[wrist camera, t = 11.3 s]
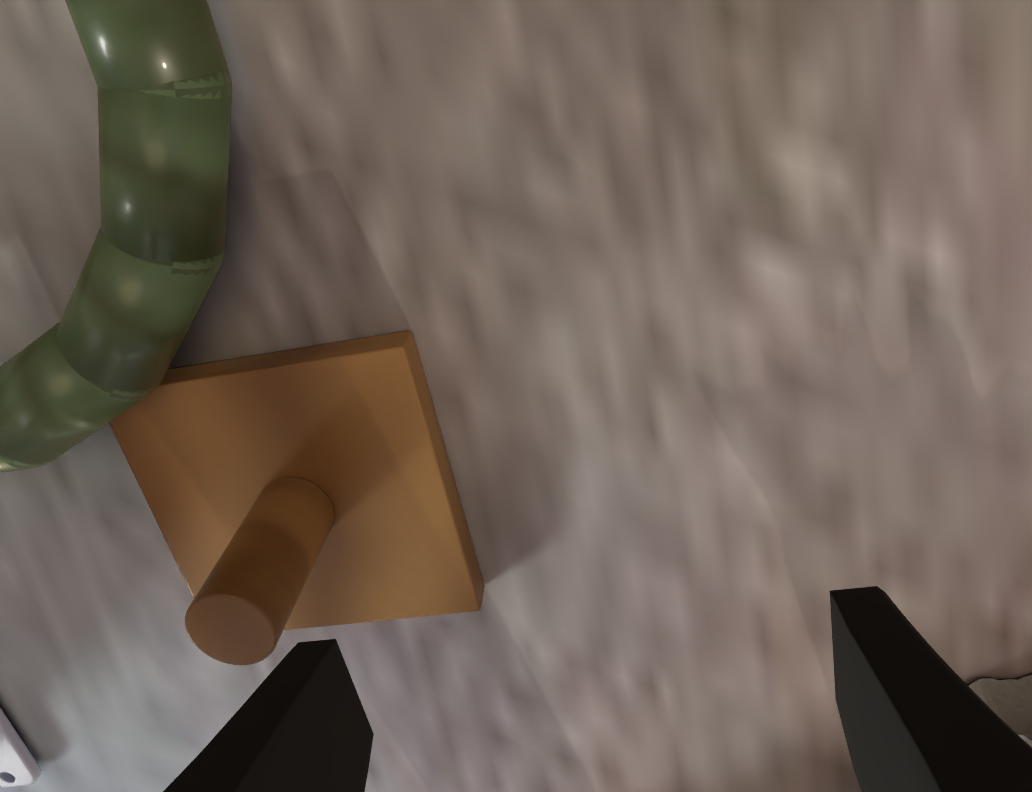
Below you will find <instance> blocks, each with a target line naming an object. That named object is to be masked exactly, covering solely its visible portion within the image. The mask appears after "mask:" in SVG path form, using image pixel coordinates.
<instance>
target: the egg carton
mask: <svg viewBox="0 0 1032 792" xmlns="http://www.w3.org/2000/svg"><path fill="white" fill-rule="evenodd" d="M969 687H970V688H971V689H972V690H973V691H974V692H975V693H976V694H977V695H978V696H979V697H980V698H981V699H982V700H983V701H984V702H985V703H986V704H987V705H988V706H989V707H990V709H991V710H992V711H993V712H994V713H996V714H997V715H998V716H999V717H1000V718H1001V719H1002V720H1003V721H1004V722H1005V723H1006V724H1007V725H1008V726H1009V727H1010V728H1011V729H1012V730H1013V731H1014V732H1015V733H1016V734H1018V735H1019V736H1020V737H1021V738H1022V739H1023V740H1024V741H1025V742H1026V743H1027V744H1028V745H1030V746H1031V747H1032V675H1029V676H1025V677H1023V678H1020V679H1018V680H1016V679H1007V680H996V679H993V678H983V679H979V680H977V681H975V682H973V683H972V684H970V685H969Z"/></svg>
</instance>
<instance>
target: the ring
mask: <svg viewBox="0 0 1032 792" xmlns="http://www.w3.org/2000/svg"><path fill="white" fill-rule="evenodd" d="M65 1H66V3H67V6H68V9H69V11H70V14H71V17H72V19H73V22H74V25H75V27H76V30H77V33H78V35H79V38H80V41H81V43H82V46H83V49H84V51H85V54H86V57H87V59H88V62H89V65H90V67H91V70H92V72H93V75H94V78H95V80H96V83H97V86H98V118H99V160H100V202H101V228H100V230H99V232H98V235H97V237H96V239H95V242H94V244H93V246H92V249H91V251H90V253H89V256H88V258H87V260H86V263H85V265H84V267H83V270H82V272H81V274H80V277H79V279H78V281H77V284H76V286H75V288H74V291H73V293H72V295H71V298H70V300H69V302H68V305H67V307H66V309H65V312H64V314H63V316H62V319H61V321H60V322H59V323H58V324H56V325H55V326H54V327H52V328H51V329H50V330H49V331H47V332H46V333H45V334H43V335H42V336H41V337H39V338H38V339H37V340H35V341H34V342H33V343H31V344H30V345H29V346H27V347H26V348H25V349H23V350H22V351H21V352H19V353H18V354H17V355H15V356H14V357H13V358H11V359H10V360H9V361H8V362H6V363H5V364H4V365H2V366H1V367H0V472H6V471H14V470H22V469H29V468H33V467H38V466H41V465H44V464H46V463H48V462H50V461H52V460H54V459H55V458H57V457H58V456H60V455H61V454H63V453H64V452H66V451H67V450H69V449H70V448H72V447H73V446H75V445H76V444H78V443H79V442H81V441H82V440H83V439H85V438H86V437H88V436H89V435H91V434H92V433H94V432H95V431H97V430H98V429H100V428H101V427H103V426H104V425H106V424H107V423H109V422H110V421H112V420H113V419H114V418H116V417H117V416H119V415H120V414H122V413H123V412H125V411H126V410H128V409H129V408H131V407H132V406H134V405H135V404H137V403H138V402H140V401H141V400H143V399H144V398H145V397H147V396H148V395H149V394H151V393H152V392H153V391H154V390H155V389H156V388H157V387H158V385H159V384H160V382H161V381H162V379H163V378H164V376H165V374H166V372H167V370H168V368H169V366H170V364H171V362H172V360H173V358H174V356H175V355H176V353H177V351H178V349H179V347H180V345H181V343H182V341H183V339H184V337H185V335H186V333H187V331H188V329H189V327H190V325H191V323H192V322H193V320H194V318H195V316H196V314H197V312H198V310H199V308H200V306H201V304H202V302H203V300H204V298H205V296H206V294H207V292H208V290H209V288H210V287H211V285H212V283H213V281H214V279H215V277H216V275H217V273H218V271H219V269H220V266H221V263H222V261H223V258H224V253H225V243H226V220H227V197H228V173H229V150H230V127H231V104H232V83H231V78H230V74H229V70H228V67H227V63H226V60H225V57H224V54H223V51H222V47H221V44H220V41H219V38H218V35H217V32H216V28H215V25H214V22H213V19H212V16H211V13H210V9H209V6H208V3H207V0H65Z"/></svg>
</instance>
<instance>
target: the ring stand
mask: <svg viewBox="0 0 1032 792" xmlns="http://www.w3.org/2000/svg"><path fill="white" fill-rule="evenodd" d="M109 424H110V426H111V428H112V430H113V432H114V434H115V436H116V438H117V440H118V442H119V444H120V447H121V449H122V451H123V453H124V455H125V457H126V459H127V461H128V463H129V465H130V467H131V469H132V471H133V473H134V476H135V478H136V480H137V482H138V484H139V486H140V488H141V490H142V492H143V494H144V496H145V498H146V500H147V502H148V505H149V507H150V509H151V511H152V513H153V515H154V517H155V519H156V521H157V523H158V525H159V527H160V529H161V531H162V533H163V536H164V538H165V540H166V542H167V544H168V546H169V548H170V550H171V552H172V554H173V556H174V558H175V560H176V562H177V565H178V567H179V569H180V571H181V573H182V575H183V577H184V579H185V581H186V583H187V585H188V587H189V589H190V591H191V594H192V596H193V598H194V600H193V601H192V603H191V605H190V606H189V608H188V610H187V612H186V616H185V626H186V630H187V633H188V635H189V637H190V639H191V640H192V642H193V643H194V644H195V645H196V646H197V647H198V648H199V649H200V650H201V651H202V652H204V653H205V654H206V655H208V656H210V657H212V658H213V659H216V660H218V661H221V662H224V663H227V664H233V665H250V664H254V663H257V662H260V661H262V660H264V659H265V658H267V657H268V656H269V655H270V654H271V653H272V652H273V650H274V649H275V647H276V645H277V642H278V640H279V638H280V636H281V634H282V632H283V630H291V629H301V628H311V627H321V626H331V625H341V624H351V623H360V622H370V621H380V620H390V619H400V618H410V617H420V616H430V615H440V614H450V613H460V612H470V611H479V610H480V609H481V604H482V598H483V593H484V587H485V586H484V583H483V579H482V576H481V572H480V569H479V565H478V562H477V558H476V555H475V551H474V548H473V544H472V541H471V537H470V534H469V530H468V527H467V523H466V520H465V516H464V513H463V509H462V506H461V502H460V499H459V495H458V492H457V488H456V485H455V481H454V478H453V474H452V471H451V467H450V464H449V460H448V457H447V453H446V449H445V446H444V442H443V439H442V435H441V432H440V428H439V425H438V421H437V418H436V414H435V411H434V407H433V404H432V400H431V397H430V393H429V390H428V386H427V383H426V379H425V376H424V372H423V369H422V365H421V362H420V358H419V355H418V351H417V348H416V344H415V341H414V337H413V334H412V331H403V332H397V333H391V334H385V335H378V336H372V337H366V338H360V339H354V340H348V341H341V342H335V343H329V344H323V345H317V346H311V347H304V348H298V349H292V350H286V351H280V352H273V353H267V354H261V355H255V356H249V357H243V358H236V359H230V360H224V361H218V362H212V363H205V364H199V365H193V366H187V367H181V368H175V369H168V370H167V372H166V374H165V376H164V378H163V379H162V381H161V382H160V384H159V385H158V387H157V388H156V389H155V390H154V391H153V392H152V393H151V394H149V395H148V396H147V397H145V398H144V399H143V400H141V401H140V402H138V403H137V404H135V405H134V406H132V407H131V408H129V409H128V410H126V411H125V412H123V413H122V414H120V415H119V416H117V417H116V418H114V419H113V420H112V421H110V422H109Z"/></svg>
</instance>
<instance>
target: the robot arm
mask: <svg viewBox="0 0 1032 792" xmlns="http://www.w3.org/2000/svg"><path fill="white" fill-rule="evenodd" d="M830 602H831V621H832V639H833V657H834V676H835V694H836V702H837V706H838V710H839V714H840V717H841V721H842V725H843V729H844V733H845V737H846V741H847V745H848V749H849V752H850V756H851V760H852V764H853V767H854V771H855V774H856V777H857V779H858V782H859V785H860V787H861V790H862V792H1032V747H1031V746H1030V745H1028V744H1027V743H1026V742H1025V741H1024V740H1023V739H1022V738H1021V737H1020V736H1019V735H1018V734H1016V733H1015V732H1014V731H1013V730H1012V729H1011V728H1010V727H1009V726H1008V725H1007V724H1006V723H1005V722H1004V721H1003V720H1002V719H1001V718H1000V717H999V716H998V715H997V714H996V713H994V712H993V711H992V710H991V709H990V707H989V706H988V705H987V704H986V703H985V702H984V701H983V700H982V699H981V698H980V697H979V696H978V695H977V694H976V693H975V692H974V691H973V690H972V689H971V688H970V687H969V686H968V685H967V684H966V683H965V682H964V681H963V680H962V679H961V678H960V677H959V676H958V675H957V674H956V673H955V672H954V671H953V670H952V669H951V668H950V667H949V666H948V665H947V664H946V662H945V661H944V660H943V659H942V658H941V657H940V656H939V655H938V654H937V653H936V652H935V650H934V649H933V648H932V647H931V646H930V645H929V644H928V643H927V642H926V640H925V639H924V638H923V637H922V636H921V635H920V634H919V633H918V631H917V630H916V629H915V628H914V627H913V626H912V624H911V623H910V622H909V621H908V620H907V619H906V617H905V616H904V615H903V614H902V613H901V611H900V610H899V609H898V608H897V606H896V605H895V604H894V603H893V602H892V600H891V599H890V598H889V596H888V595H887V594H886V593H885V592H884V591H883V590H881V589H880V588H879V587H877V586H874V587H864V588H854V589H843V590H833V591H830ZM372 740H373V732H372V729H371V727H370V724H369V722H368V719H367V717H366V714H365V711H364V709H363V706H362V704H361V701H360V699H359V696H358V694H357V691H356V689H355V686H354V684H353V681H352V679H351V676H350V674H349V671H348V669H347V666H346V664H345V661H344V659H343V656H342V654H341V651H340V649H339V646H338V644H337V641H336V639H330V640H319V641H309V642H299V643H297V645H296V646H295V647H294V648H293V649H292V650H291V651H290V652H289V653H288V654H287V655H286V656H285V658H284V659H283V660H282V661H281V662H280V663H279V664H278V665H277V667H276V668H275V669H274V670H273V671H272V672H271V673H270V675H269V676H268V677H267V678H266V679H265V680H264V681H263V683H262V684H261V685H260V686H259V687H258V688H257V689H256V691H255V692H254V693H253V694H252V695H251V696H250V698H249V699H248V700H247V701H246V702H245V703H244V704H243V706H242V707H241V708H240V709H239V710H238V711H237V712H236V714H235V715H234V716H233V717H232V718H231V719H230V720H229V721H228V722H227V724H226V725H225V726H224V727H223V728H222V729H221V730H220V731H219V733H218V734H217V735H216V736H215V737H214V738H213V739H212V740H211V742H210V743H209V744H208V745H207V746H206V747H205V748H204V749H203V751H202V752H201V753H200V754H199V755H198V756H197V757H196V758H195V759H194V760H193V761H192V762H191V763H190V764H189V765H188V766H187V767H186V768H185V770H184V771H183V772H182V773H181V774H180V775H179V776H178V777H177V778H176V779H175V780H174V781H173V782H172V783H171V784H170V785H169V786H168V787H167V788H166V789H165V790H164V791H163V792H364V791H365V785H366V779H367V774H368V768H369V761H370V754H371V747H372ZM40 772H41V770H40V767H39V765H38V764H37V762H36V761H35V759H34V758H33V756H32V755H31V753H30V752H29V750H28V749H27V747H26V746H25V744H24V743H23V741H22V740H21V738H20V737H19V735H18V734H17V732H16V730H15V729H14V727H13V726H12V724H11V723H10V721H9V720H8V718H7V717H6V715H5V714H4V712H3V711H2V709H1V708H0V787H12V786H26V785H31V784H33V783H34V782H35V781H36V780H37V778H38V777H39V775H40Z"/></svg>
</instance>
